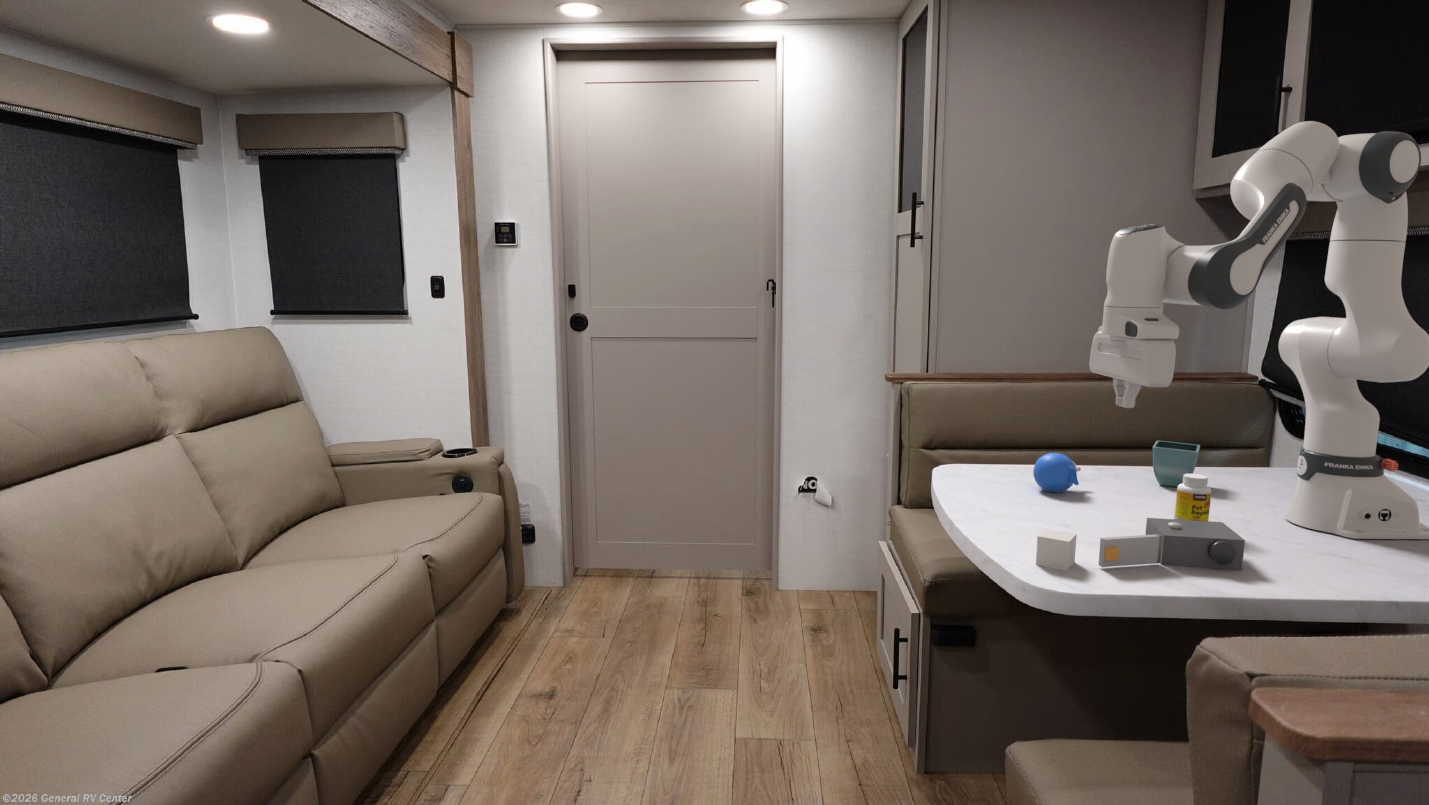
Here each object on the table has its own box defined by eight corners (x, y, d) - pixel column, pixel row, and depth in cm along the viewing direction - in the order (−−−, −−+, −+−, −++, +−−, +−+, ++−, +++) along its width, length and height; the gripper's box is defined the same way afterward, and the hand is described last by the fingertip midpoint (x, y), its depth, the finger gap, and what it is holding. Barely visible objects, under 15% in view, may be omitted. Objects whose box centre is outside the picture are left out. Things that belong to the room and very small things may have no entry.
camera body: (1219, 550, 149) (1222, 518, 148) (1245, 573, 138) (1249, 539, 137) (1144, 545, 151) (1147, 514, 151) (1164, 567, 140) (1167, 534, 139)
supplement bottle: (1188, 534, 158) (1194, 480, 156) (1166, 525, 163) (1171, 473, 161) (1214, 532, 159) (1220, 478, 157) (1191, 523, 164) (1196, 471, 162)
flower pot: (1196, 483, 195) (1200, 444, 193) (1194, 491, 187) (1197, 451, 186) (1153, 478, 199) (1156, 439, 198) (1149, 486, 192) (1152, 446, 190)
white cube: (1074, 562, 143) (1076, 533, 142) (1067, 571, 139) (1069, 541, 138) (1043, 556, 146) (1045, 528, 145) (1035, 565, 142) (1037, 536, 141)
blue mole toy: (1101, 494, 185) (1104, 455, 184) (1061, 500, 180) (1064, 461, 179) (1056, 481, 196) (1059, 445, 194) (1018, 487, 191) (1020, 449, 189)
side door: (1098, 565, 140) (1100, 537, 140) (1157, 561, 142) (1159, 534, 142) (1104, 568, 139) (1106, 541, 138) (1164, 564, 141) (1166, 537, 140)
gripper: (1083, 320, 153) (1077, 397, 155) (1146, 328, 132) (1139, 417, 135) (1117, 320, 153) (1111, 397, 155) (1186, 328, 133) (1178, 417, 135)
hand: (1124, 406), depth 145 cm, fingers closed
